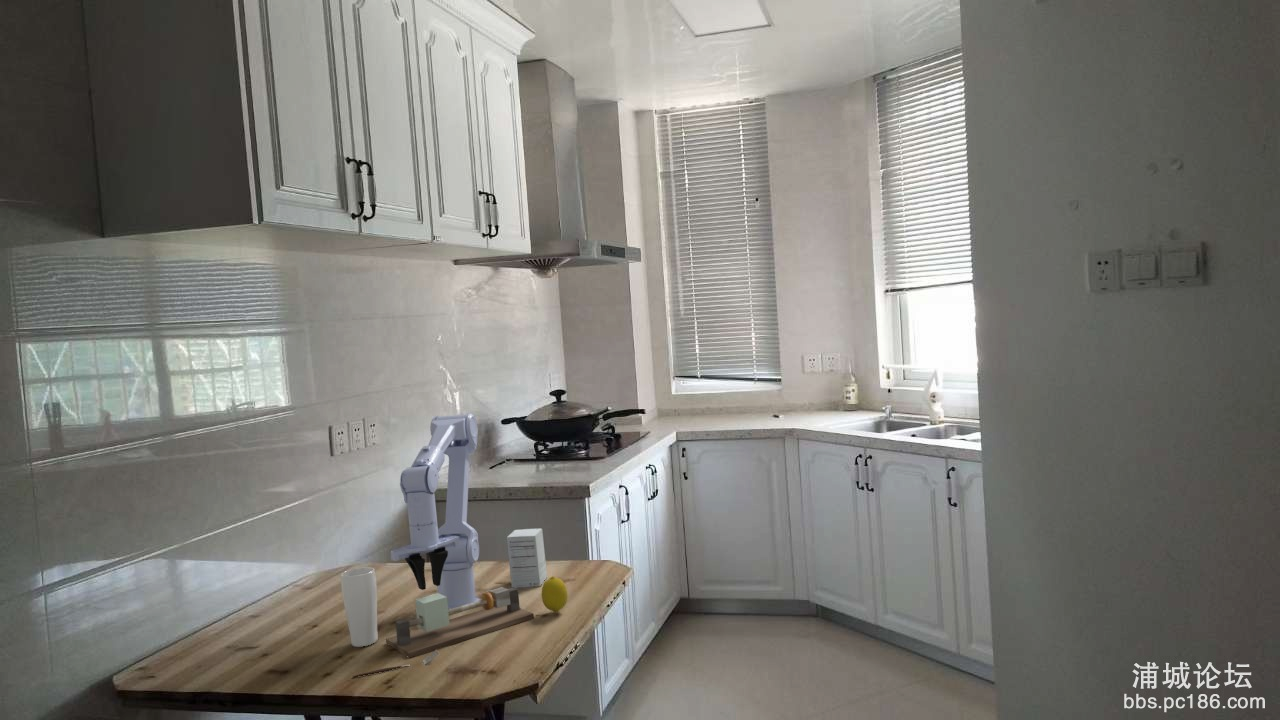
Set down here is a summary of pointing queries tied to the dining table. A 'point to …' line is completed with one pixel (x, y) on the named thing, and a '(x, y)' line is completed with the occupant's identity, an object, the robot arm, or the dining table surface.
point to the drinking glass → (360, 605)
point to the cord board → (462, 623)
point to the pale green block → (432, 611)
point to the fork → (400, 666)
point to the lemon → (554, 594)
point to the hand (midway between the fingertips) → (429, 586)
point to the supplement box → (526, 558)
